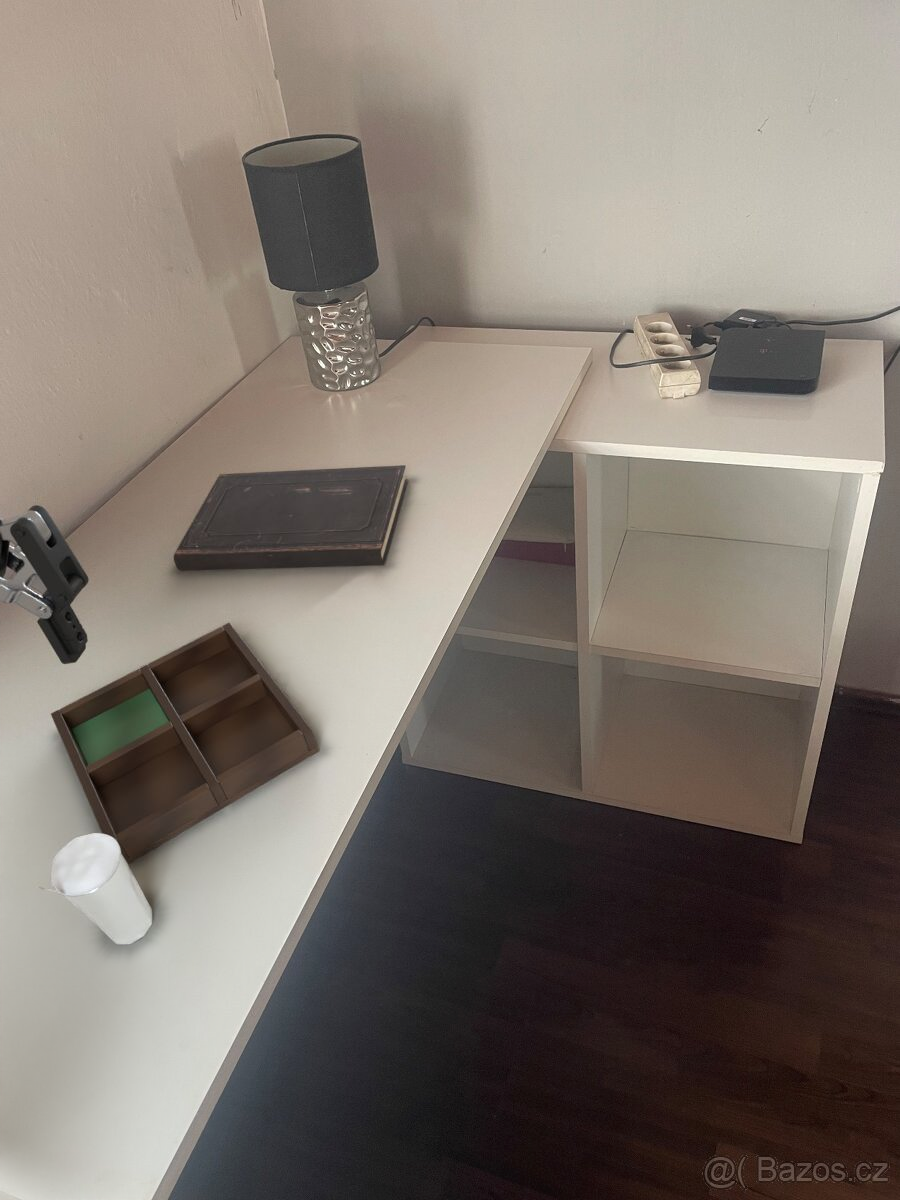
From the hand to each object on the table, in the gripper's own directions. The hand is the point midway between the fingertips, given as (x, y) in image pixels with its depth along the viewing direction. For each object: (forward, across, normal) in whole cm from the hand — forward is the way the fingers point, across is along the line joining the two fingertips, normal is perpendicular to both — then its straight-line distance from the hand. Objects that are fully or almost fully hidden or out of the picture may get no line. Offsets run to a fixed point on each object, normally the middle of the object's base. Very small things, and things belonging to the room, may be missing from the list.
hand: (20, 665), depth 58 cm
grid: (+17, +1, +10) cm, 20 cm away
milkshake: (+20, +2, -7) cm, 21 cm away
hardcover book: (+13, +6, +41) cm, 43 cm away
